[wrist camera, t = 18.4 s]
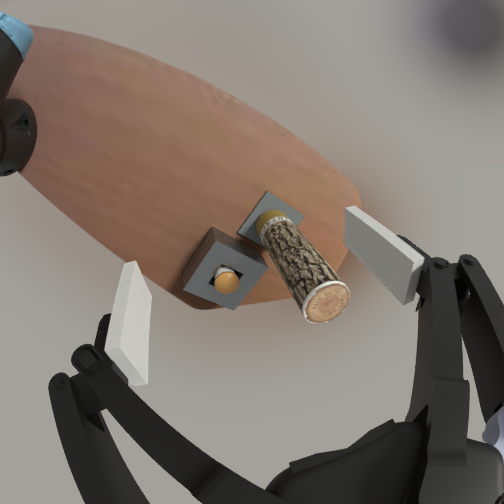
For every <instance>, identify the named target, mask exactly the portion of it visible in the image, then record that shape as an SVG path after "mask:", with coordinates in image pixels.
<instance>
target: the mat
mask: <svg viewBox="0 0 504 504" xmlns="http://www.w3.org/2000/svg"><path fill="white" fill-rule="evenodd" d="M269 210H279V211H281V212H283V213H284V214H285V215H286V216H287V217H288V218H289V219H290V220H291V221H292V222H293V223H294V225H295V226H296V227H297V225H298V224H299V223H300V222H301V220H302V219H303V218H304V216H303V215H302V214H300V213H299V212H298V211H296V210H295V209H293V208H292V207H290V206H289V205H287V204H286V203H285V202H283V201H282V200H280V199H279V198H277V197H276V196H274V195H273V194H271V193H270V192H268V191H267V192H266V193H265V194H264V196H263V197H262V198H261V200H260V201H259V203H258V204H257V205H256V207H255V208H254V209H253V211H252V212H251V214H250V215H249V216H248V218H247V219H246V221H245V222H244V223H243V225H242V226H241V228H240V229H239V230H238V233H239V234H241V235H243V236H245V237H247V238H248V239H250V240H252V241H254V242H256V243H258V244H259V245H261V246H263V247H265V246H264V244H263V243H262V241H261V239H260V237H259V235H258V234H257V231H256V224H257V221H258V219H259V217H260V216H261V215H262V214H263V213H265V212H267V211H269Z"/></svg>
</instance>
